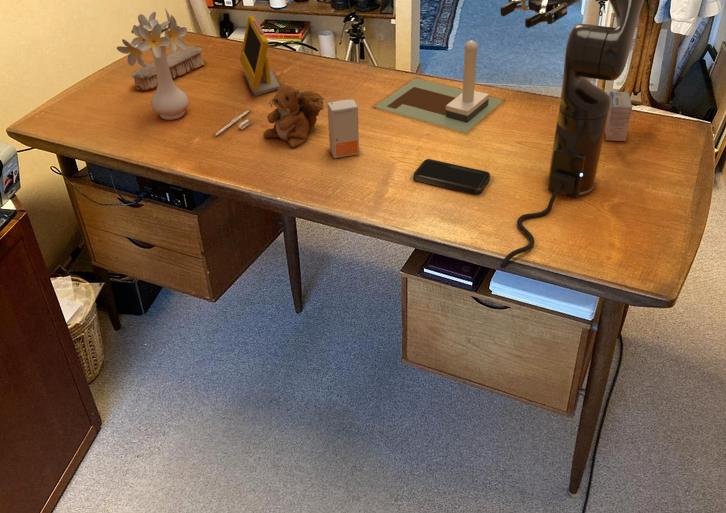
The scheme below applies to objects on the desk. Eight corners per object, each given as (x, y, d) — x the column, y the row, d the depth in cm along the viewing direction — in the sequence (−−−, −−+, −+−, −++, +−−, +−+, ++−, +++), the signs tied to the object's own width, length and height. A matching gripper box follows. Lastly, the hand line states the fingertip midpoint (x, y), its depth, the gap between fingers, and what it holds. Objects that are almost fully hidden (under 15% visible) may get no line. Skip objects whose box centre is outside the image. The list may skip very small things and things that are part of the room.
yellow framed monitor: (241, 72, 198) (233, 16, 188) (268, 67, 199) (262, 12, 189) (254, 101, 182) (246, 42, 173) (284, 96, 184) (277, 37, 174)
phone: (479, 191, 144) (412, 175, 149) (479, 195, 144) (411, 179, 150) (491, 172, 149) (426, 157, 155) (491, 176, 150) (426, 162, 155)
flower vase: (131, 130, 172) (104, 29, 157) (167, 97, 186) (145, 2, 171) (179, 135, 169) (156, 34, 154) (212, 102, 183) (194, 5, 168)
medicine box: (625, 142, 160) (633, 107, 154) (605, 140, 160) (612, 106, 155) (622, 125, 166) (629, 91, 160) (602, 124, 166) (609, 90, 161)
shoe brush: (191, 57, 207) (188, 41, 204) (210, 62, 203) (207, 46, 200) (129, 88, 191) (124, 71, 188) (147, 94, 188) (143, 77, 185)
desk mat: (465, 133, 165) (465, 132, 165) (374, 107, 177) (374, 106, 177) (503, 101, 178) (503, 100, 178) (415, 78, 190) (415, 77, 190)
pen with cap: (247, 111, 178) (246, 104, 177) (262, 114, 176) (261, 107, 175) (214, 136, 168) (213, 128, 167) (229, 139, 167) (227, 131, 165)
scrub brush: (467, 122, 169) (471, 51, 158) (445, 116, 172) (448, 46, 161) (488, 105, 176) (494, 35, 165) (467, 99, 179) (471, 30, 168)
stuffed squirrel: (260, 138, 167) (253, 86, 159) (304, 117, 175) (300, 66, 166) (287, 152, 161) (281, 99, 153) (332, 130, 169) (329, 78, 161)
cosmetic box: (334, 159, 158) (330, 110, 151) (329, 150, 161) (326, 102, 154) (360, 154, 159) (358, 106, 152) (355, 146, 162) (353, 98, 155)
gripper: (544, -34, 170) (492, -7, 166) (588, -17, 161) (534, 12, 156) (544, -4, 175) (494, 23, 171) (587, 13, 166) (535, 42, 162)
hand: (513, 18), depth 164 cm, fingers open, 8 cm apart
